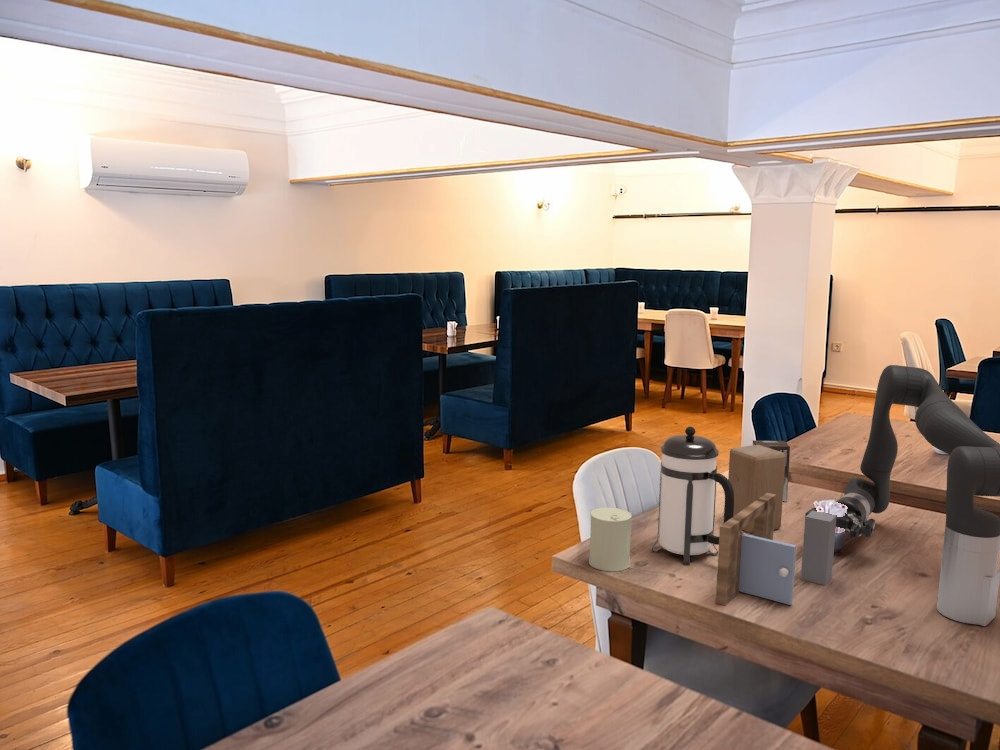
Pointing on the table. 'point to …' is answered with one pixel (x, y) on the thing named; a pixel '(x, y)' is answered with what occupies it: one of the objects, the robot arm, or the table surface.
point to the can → (610, 539)
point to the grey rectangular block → (818, 547)
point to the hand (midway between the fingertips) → (831, 530)
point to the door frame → (732, 541)
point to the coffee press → (690, 495)
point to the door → (767, 568)
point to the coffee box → (785, 448)
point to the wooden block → (756, 478)
